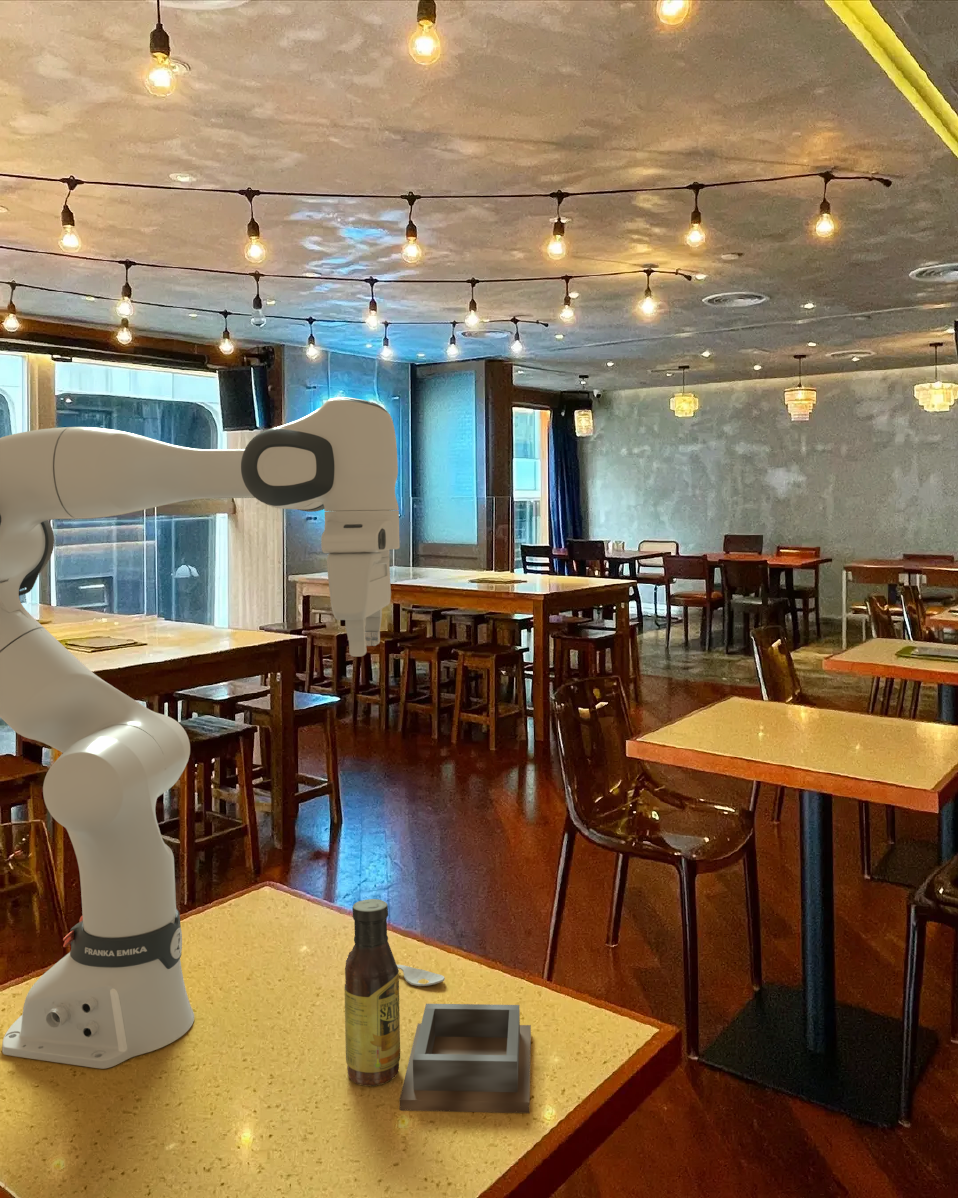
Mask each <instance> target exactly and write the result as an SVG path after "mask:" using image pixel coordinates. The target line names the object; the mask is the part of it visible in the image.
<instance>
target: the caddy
mask: <svg viewBox="0 0 958 1198" xmlns="http://www.w3.org/2000/svg"><path fill="white" fill-rule="evenodd" d="M424 1007H425V1008H424V1010H423V1014H422V1019H421V1022H420V1023H417V1025H416V1030H415V1034H414V1038H413V1042H412V1046H411V1050H410V1055H409V1057H408V1058H409V1059H408V1063H407V1066H406V1071H405V1074H404V1075H405V1076H404V1079H403V1084H402V1087H401V1088H402V1089H401V1091H400V1097H399V1099H398V1100H399V1111H409V1112H411V1111H414V1112H458V1113H459V1112H460V1113H462V1112H464V1113H467V1112H468V1113H500V1114H501V1113H507V1114H508V1113H511V1114H512V1113H513V1114H517V1113H518V1114H530V1109H531V1108H530V1106H531V1105H530V1101H531V1053H532V1052H531V1051H532V1050H531V1040H532V1039H531V1038H532V1029H531V1028H532V1027H531V1024H521V1020H520V1019H521V1018H520V1014H521V1013H520V1004H487V1003H486V1004H478V1003H477V1004H476V1003H475V1004H473V1003H470V1004H469V1003H466V1004H465V1003H425V1006H424Z"/></svg>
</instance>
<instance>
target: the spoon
mask: <svg viewBox="0 0 958 1198" xmlns="http://www.w3.org/2000/svg"><path fill="white" fill-rule="evenodd" d="M396 965H397V967H398V970H401V971H402V973H403V978H404V979H405V981H406V982H407V983H408V984H410V985H412V986H416V987H417V986H418V987H425V986H426V987H427V986H428V987H429V986H432V985H436V984H439V983H442V982H444V981H445V979H446V978H445V976H444V975H442V974H438V973H435V972H433V971H432V972H431V971H428V970H425V969H420V968H416V967H412V966H408V965H405V964H396ZM421 980H426V981H428V982H427V983H421V982H419V981H421Z"/></svg>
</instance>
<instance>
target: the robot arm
mask: <svg viewBox="0 0 958 1198" xmlns="http://www.w3.org/2000/svg"><path fill="white" fill-rule="evenodd" d="M397 449H398V448H397V437H396V429H395V425H394V421H393V418H392V416H391V414H390V413H389V412H388V411H387V409H385V408H384V407H382V406H381V405H379V404H378V403H376V402H372V401H368V400H366V399H360V398H354V397H346V396H335V397H332V398H329V399H328V400H326V401H325V402H324V403H323V404H322V405H321V406H320V407H318V408H317V409H316V410H314V411H313V412H310V413H309V414H307V415H305V416H303V417H300V418H299V419H296V420H294V421H291V422H289V423H286V424H282V425H279V426H277V427H276V426H275V427H272V428H270V429H266V430H264V431H261V432H259V433H257V435H255V436H254V437H252V439H251V440H250V441H249V442H248V443H247V445H246V446H245V448H242V449H241V448H240V449H239V448H238V449H237V448H236V449H234V448H233V449H231V448H230V449H226V448H225V449H222V448H221V449H220V448H219V449H214V448H213V449H202V448H194V447H193V448H192V447H186V446H181V445H176V444H172V443H167V442H165V441H161V440H157V439H155V438H150V437H148V436H144V435H140V434H136V433H133V432H132V433H131V432H127V431H123V430H117V429H113V428H112V429H111V428H102V427H96V426H95V427H92V426H88V427H87V426H66V427H64V426H63V427H52V428H51V427H50V428H39V429H35V430H28V431H27V430H26V431H23V432H18V433H13V434H9V435H4V436H2V437H0V719H1V720H3V722H5V724H6V725H8V726H9V728H11V729H12V730H13V731H14V732H15V733H16V734H18V735H20V736H21V737H24V738H25V739H26V738H27V739H30V740H34V741H37V742H40V743H42V744H45V745H47V746H50V747H51V748H53V749H56V751H59V752H61V753H62V754H60V756H59V757H58V758H57V759H56V760H55V761H54V762H53V763H52V765H51V766H50V767H49V769H48V770H47V772H46V775H45V777H44V781H43V786H42V795H43V800H44V804H45V807H46V808H47V809H46V810H47V811H48V813H49V814H50V816H51V817H52V818H53V819H54V820H55V822H57V823H58V824H59V825H61V826H62V827H64V828H65V829H66V831H67V833H68V836H69V839H70V841H71V844H72V847H73V850H74V854H75V857H76V861H77V866H78V871H79V881H80V892H81V893H80V894H81V895H80V897H81V908H82V909H81V910H82V911H81V913H82V915H81V916H80V918H79V920H78V921H79V922H78V923H76V924H75V925H74V926H72V927H71V928H70V930H69V931H70V932H69V933H67V934H66V935H65V937H63V939H62V941H64V943H63V946H62V947H63V948H66V947H67V946H69V944H70V948H71V949H70V951H69V952H68V953H67V954H65V955H64V956H63V957H62V958H61V959H59V960H58V961H57V962H56V963H55V964H53V966H51V967H50V968H49V969H47V971H45V972H44V973H43V974H42V975H41V976H40V977H39V978H38V979H37V980H36V981H35V982H34V983H33V985H32V986H31V988H30V989H29V991H28V992H27V994H26V996H25V998H24V1003H23V1009H22V1015H20V1016H19V1017H18V1018H17V1019H16V1020H15V1021H14V1022H13V1023H12V1024H11V1025H10V1027H9V1028H8V1030H7V1031H6V1033H5V1034H4V1036H3V1039H2V1054H3V1055H5V1056H12V1057H18V1058H25V1059H32V1060H39V1061H45V1062H46V1061H47V1062H52V1063H58V1064H59V1063H60V1064H67V1065H74V1066H80V1067H87V1068H92V1069H93V1068H95V1069H104V1070H105V1069H110V1068H112V1067H115V1066H116V1065H119V1064H121V1063H122V1062H125V1061H127V1060H128V1059H131V1058H134V1057H137V1056H140V1055H143V1054H148V1053H150V1052H154V1051H155V1050H156V1051H157V1050H159V1049H161V1048H163V1047H165V1046H167V1045H169V1044H171V1043H173V1042H175V1041H176V1040H178V1039H180V1038H181V1037H182V1036H184V1035H185V1034H187V1032H188V1031H189V1030H190V1029H191V1027H192V1026H193V1023H194V1021H195V1013H194V1011H193V1008H192V1005H191V1002H190V1000H189V997H188V996H189V995H188V993H187V990H186V989H187V988H186V985H185V980H184V975H183V969H182V963H181V957H182V950H183V934H182V927H181V916H180V915H181V914H180V911H179V910H178V909H177V901H176V900H177V899H176V878H175V876H176V875H175V873H176V872H175V857H174V853H173V851H172V849H171V848H170V846H168V844H166V843H165V841H164V839H163V837H162V834H161V830H160V827H159V824H158V820H157V814H156V806H157V805H156V804H157V801H158V800H157V799H158V798H159V797H160V796H162V795H163V794H165V793H166V792H167V791H169V790H170V789H171V788H172V787H174V785H175V784H176V783H177V782H178V781H179V780H180V778H181V776H182V774H183V773H184V771H185V768H186V767H187V764H188V762H189V760H190V759H189V758H190V755H191V743H190V739H189V736H188V734H187V731H186V730H185V728H184V727H183V726H182V725H181V724H180V723H179V721H177V720H176V719H174V718H172V717H171V716H168V715H165V714H162V713H159V712H156V711H153V710H151V709H149V708H148V707H146V706H144V705H143V704H142V703H140V702H138V701H137V700H135V699H134V698H132V697H130V696H129V695H127V694H126V693H124V692H122V691H121V690H119V689H118V688H116V687H114V686H113V685H112V684H110V683H108V682H107V681H105V680H104V679H102V678H101V677H100V676H98V675H97V674H96V673H94V672H93V671H92V670H90V669H89V668H88V667H87V666H86V665H84V664H83V663H82V661H80V660H79V659H78V658H77V657H76V656H75V655H74V653H72V652H70V651H69V649H67V648H66V647H65V646H64V645H63V643H61V642H60V641H59V640H57V638H55V636H54V635H52V633H51V632H50V631H48V630H47V629H46V628H45V627H44V626H43V625H42V624H41V623H40V622H39V621H38V620H37V619H36V618H35V617H34V616H32V614H31V613H29V612H28V610H27V609H26V608H25V607H24V606H23V604H22V603H21V599H20V596H25V594H28V593H30V592H31V590H33V588H34V586H35V584H36V581H37V579H38V577H39V576H40V575H39V574H40V573H41V572H42V571H43V570H44V568H45V567H46V565H47V564H48V562H49V561H50V559H51V557H52V554H53V551H54V548H55V535H54V530H53V527H52V525H51V523H50V520H58V519H59V520H61V519H64V520H66V519H69V520H70V519H71V520H73V519H75V520H77V519H79V520H81V519H96V518H97V519H98V518H99V519H100V518H106V517H107V518H108V517H116V516H120V515H125V514H130V513H131V514H132V513H135V512H139V511H144V510H149V509H153V508H157V507H158V508H159V507H161V506H166V505H170V504H175V503H179V502H185V501H191V500H192V501H193V500H201V499H249V498H250V499H252V498H253V499H256V500H258V501H259V502H261V503H263V504H265V505H267V506H269V507H272V508H277V509H284V510H298V511H302V512H309V513H310V512H315V513H316V512H319V511H322V510H323V511H324V530H323V532H322V534H321V536H320V537H321V538H320V539H321V541H320V543H321V544H320V545H321V551H322V553H324V554H328V555H327V558H326V560H327V561H326V563H327V564H326V567H327V578H328V580H327V581H328V589H329V598H330V606H331V611H332V614H333V617H334V619H336V620H337V621H345V622H344V623H345V624H344V625H345V632H346V635H347V639H348V648H349V649H348V651H349V653H348V654H349V655H350V656H351V657H363V656H365V655H366V654H367V652H368V651H367V647H372V646H373V647H376V646H377V645H379V644H380V643H381V627H382V626H381V625H382V617H383V612H382V611H383V609H384V608H385V607H388V606H389V605H390V603H391V599H392V598H391V596H392V589H391V571H390V570H391V569H390V568H391V567H390V561H391V559H390V550H392V551H393V550H399V549H400V548H401V547H400V545H401V544H400V513H399V512H400V511H399V509H400V508H399V503H398V501H397V497H396V483H397V479H398V475H399V474H398V473H399V471H398V469H399V466H398V465H399V464H398V463H399V462H398V450H397ZM22 589H23V590H22Z"/></svg>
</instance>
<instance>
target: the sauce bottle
mask: <svg viewBox="0 0 958 1198" xmlns="http://www.w3.org/2000/svg"><path fill="white" fill-rule="evenodd" d="M388 916H389V906H388V903H387V902H386V901H385V900H382V899H378V898H369V899H361V900H358V901H356V902H354V903H353V905H352V919H353V921H354V922H353V923H354V925H353V927H354V936H353V937H354V938H353V941H354V945H353V946H352V949H351V951H349V953H348V955H347V956H348V958H347V960H346V961H345V966H344V975H345V976H344V978H345V981H344V982H345V984H344V1027H345V1028H344V1030H345V1033H344V1034H345V1037H344V1038H345V1062H346V1064H347V1069H346V1070H347V1076H348V1077H349V1080H350V1081H352V1082H353V1083H355V1084H356V1085H359V1086H365V1087H366V1086H368V1087H376V1086H379V1085H380V1086H381V1085H383V1084H384V1085H385V1084H386V1083H388V1082H390V1081H392V1080H393V1079H395V1078H396V1076H397V1075H398V1073H399V1070H400V1060H401V1027H400V1026H401V1024H400V1023H401V1022H400V1021H401V1020H400V1017H401V1016H400V969H398V967H397V965H398V964H397V962H396V960H395V957H394V954H393V952H392V948H391V946H390V944H389V941H388V940H389V936H388V928H387V926H388V921H387V919H388Z"/></svg>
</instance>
